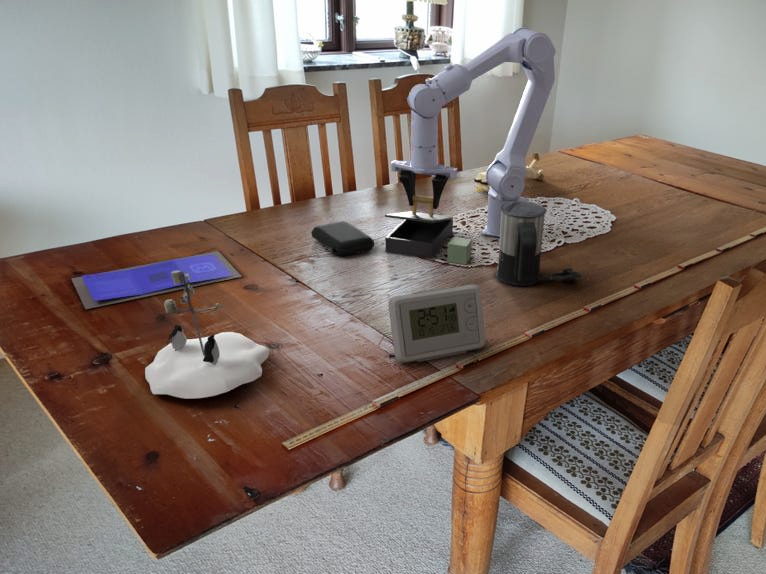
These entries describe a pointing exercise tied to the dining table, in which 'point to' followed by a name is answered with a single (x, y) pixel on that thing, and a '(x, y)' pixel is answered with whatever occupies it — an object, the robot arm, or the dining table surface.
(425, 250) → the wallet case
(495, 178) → the robot arm
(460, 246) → the block
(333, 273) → the dining table surface
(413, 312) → the digital clock
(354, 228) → the carrying case
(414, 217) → the cover
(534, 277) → the milk frother
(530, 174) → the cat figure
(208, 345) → the figurine
